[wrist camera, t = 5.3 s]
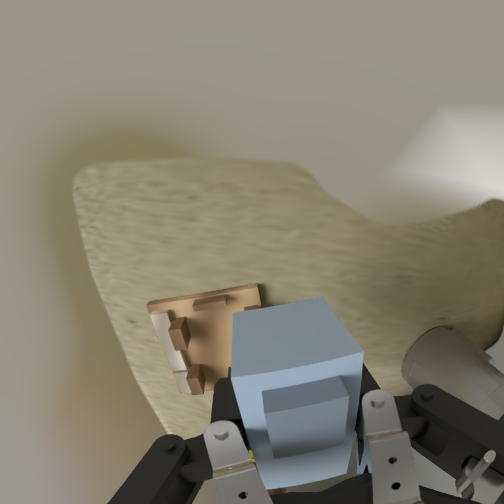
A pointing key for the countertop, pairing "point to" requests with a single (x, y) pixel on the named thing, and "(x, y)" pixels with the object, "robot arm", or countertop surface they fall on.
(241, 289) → the jig
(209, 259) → the countertop surface
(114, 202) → the countertop surface
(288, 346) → the light blue block
